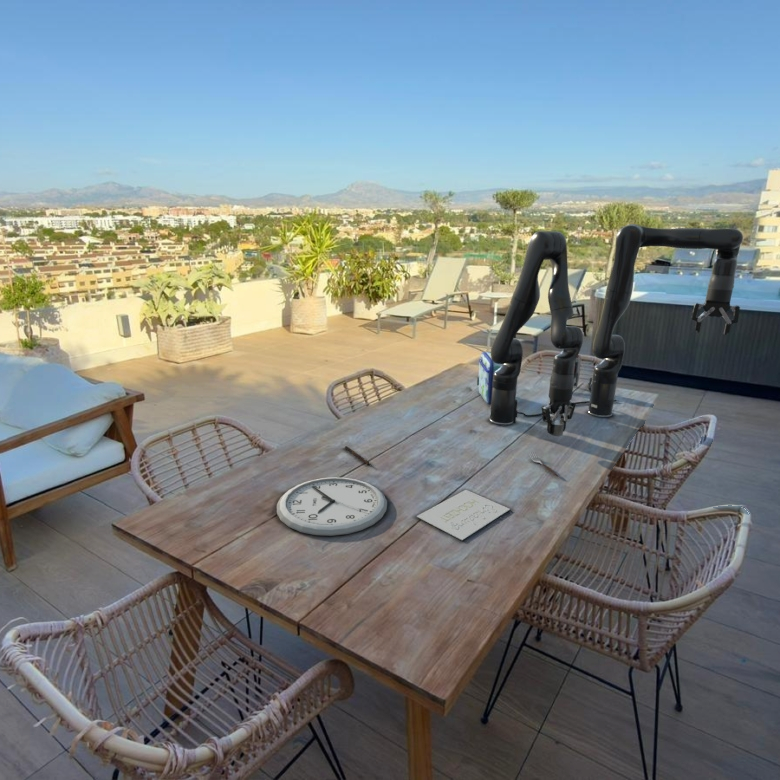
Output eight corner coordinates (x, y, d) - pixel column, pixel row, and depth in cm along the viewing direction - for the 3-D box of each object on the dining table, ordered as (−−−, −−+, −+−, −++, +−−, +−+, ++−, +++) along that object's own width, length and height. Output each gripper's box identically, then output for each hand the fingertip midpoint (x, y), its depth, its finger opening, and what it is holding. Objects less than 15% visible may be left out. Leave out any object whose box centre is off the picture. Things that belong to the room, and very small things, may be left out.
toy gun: (565, 361, 240) (576, 353, 251) (562, 394, 245) (573, 384, 257) (571, 362, 238) (581, 354, 249) (567, 395, 244) (578, 385, 255)
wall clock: (392, 527, 129) (268, 531, 127) (391, 533, 130) (269, 537, 127) (383, 473, 158) (282, 475, 155) (383, 478, 158) (282, 480, 156)
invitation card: (465, 489, 152) (510, 508, 142) (465, 490, 152) (510, 509, 142) (416, 515, 137) (462, 539, 127) (416, 516, 138) (462, 540, 127)
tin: (557, 437, 179) (558, 425, 178) (546, 432, 182) (547, 421, 181) (565, 434, 181) (566, 423, 180) (554, 430, 185) (555, 419, 184)
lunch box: (475, 390, 246) (478, 346, 240) (498, 390, 246) (501, 347, 240) (484, 408, 221) (487, 360, 215) (509, 409, 221) (513, 360, 215)
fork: (554, 478, 160) (554, 472, 160) (527, 457, 175) (528, 451, 174) (561, 477, 161) (562, 471, 160) (534, 456, 175) (535, 450, 175)
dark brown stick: (344, 448, 179) (344, 445, 179) (346, 448, 179) (346, 445, 179) (367, 464, 167) (367, 462, 167) (368, 464, 167) (368, 461, 167)
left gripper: (553, 390, 170) (548, 439, 175) (585, 385, 177) (579, 432, 182) (537, 384, 177) (532, 431, 182) (568, 380, 183) (563, 425, 188)
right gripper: (742, 288, 184) (732, 333, 189) (696, 285, 190) (687, 329, 195) (746, 290, 178) (736, 337, 183) (698, 287, 183) (689, 333, 188)
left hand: (555, 432), depth 182 cm, fingers closed on tin, 4 cm apart
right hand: (711, 333), depth 189 cm, fingers open, 8 cm apart
